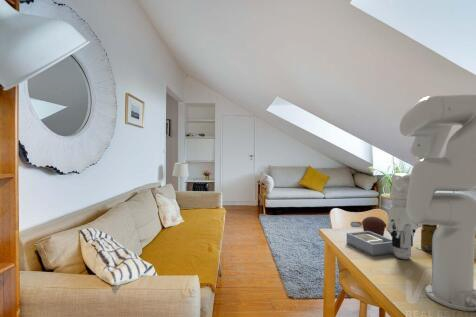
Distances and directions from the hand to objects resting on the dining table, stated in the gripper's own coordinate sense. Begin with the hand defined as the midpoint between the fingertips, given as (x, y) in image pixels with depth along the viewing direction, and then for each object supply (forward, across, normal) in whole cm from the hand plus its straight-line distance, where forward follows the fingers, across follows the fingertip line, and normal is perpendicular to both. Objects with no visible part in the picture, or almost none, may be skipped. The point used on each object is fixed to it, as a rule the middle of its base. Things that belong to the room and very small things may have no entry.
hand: (402, 245), depth 105 cm
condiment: (+5, -19, -3) cm, 20 cm away
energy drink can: (+5, 0, 0) cm, 5 cm away
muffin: (+5, -10, -26) cm, 28 cm away
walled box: (+5, +4, -13) cm, 14 cm away
